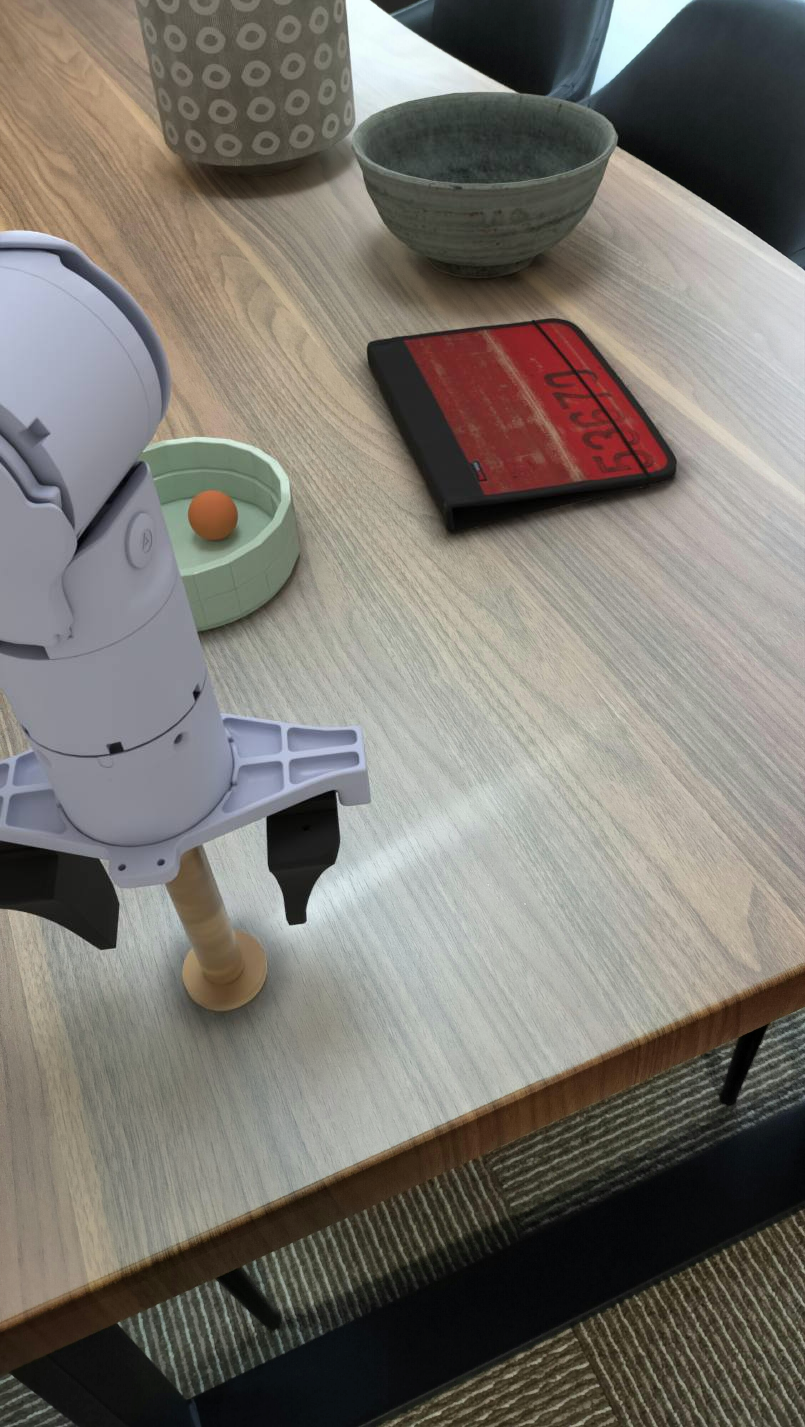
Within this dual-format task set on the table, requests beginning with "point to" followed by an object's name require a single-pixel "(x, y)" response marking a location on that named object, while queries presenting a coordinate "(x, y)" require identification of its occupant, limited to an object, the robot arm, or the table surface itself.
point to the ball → (212, 515)
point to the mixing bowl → (256, 550)
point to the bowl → (483, 175)
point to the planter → (249, 79)
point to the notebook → (516, 419)
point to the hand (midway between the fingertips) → (203, 914)
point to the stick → (213, 940)
